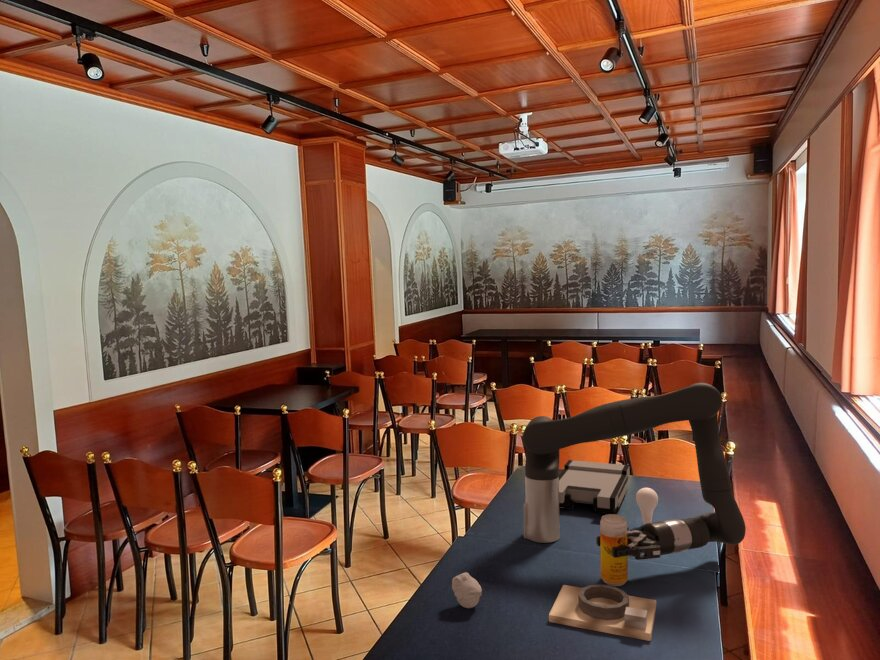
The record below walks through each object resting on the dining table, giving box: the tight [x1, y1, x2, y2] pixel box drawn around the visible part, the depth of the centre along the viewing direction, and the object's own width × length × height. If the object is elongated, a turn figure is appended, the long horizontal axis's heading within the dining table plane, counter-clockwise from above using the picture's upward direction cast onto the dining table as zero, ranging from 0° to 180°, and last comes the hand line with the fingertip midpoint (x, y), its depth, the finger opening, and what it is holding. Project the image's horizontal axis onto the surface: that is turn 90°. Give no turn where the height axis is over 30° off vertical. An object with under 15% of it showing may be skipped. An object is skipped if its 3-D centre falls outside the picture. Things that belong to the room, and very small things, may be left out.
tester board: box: [548, 583, 657, 642], centre depth 131 cm, size 20×14×4 cm
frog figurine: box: [451, 571, 483, 609], centre depth 135 cm, size 6×7×7 cm
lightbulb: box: [635, 487, 659, 525], centre depth 178 cm, size 6×6×11 cm
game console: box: [559, 459, 631, 515], centre depth 202 cm, size 21×32×8 cm, turn 156°
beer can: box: [599, 513, 629, 587], centre depth 145 cm, size 6×6×15 cm
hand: (605, 547), depth 144 cm, fingers closed on beer can, 6 cm apart
